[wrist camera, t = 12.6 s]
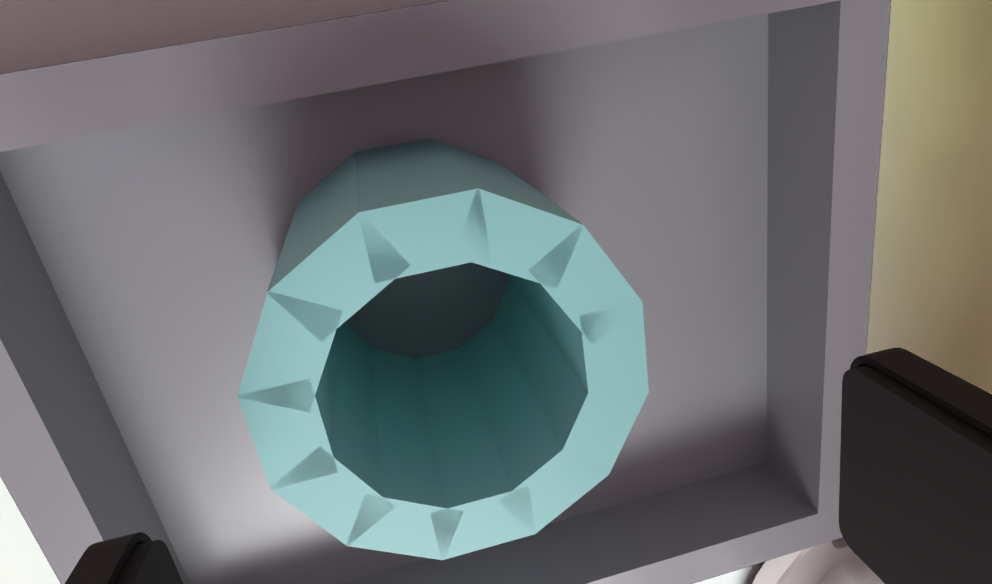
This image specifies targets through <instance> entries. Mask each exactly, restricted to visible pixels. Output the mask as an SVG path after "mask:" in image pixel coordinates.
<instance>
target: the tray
mask: <svg viewBox="0 0 992 584" xmlns="http://www.w3.org/2000/svg"><path fill="white" fill-rule="evenodd" d="M890 11H891V0H448V1H442V2H436V3H430V4H424V5H418V6H412V7H405V8H399V9H393V10H387V11H381V12H375V13H369V14H363V15H357V16H351V17H345V18H339V19H333V20H327V21H321V22H314V23H308V24H302V25H296V26H290V27H284V28H278V29H272V30H266V31H260V32H254V33H248V34H242V35H236V36H230V37H223V38H217V39H211V40H205V41H199V42H193V43H187V44H181V45H175V46H169V47H163V48H157V49H151V50H145V51H139V52H133V53H126V54H120V55H114V56H108V57H102V58H96V59H90V60H84V61H78V62H72V63H66V64H60V65H54V66H48V67H42V68H35V69H29V70H23V71H17V72H11V73H5V74H0V477H1V479H2V480H3V482H4V484H5V486H6V487H7V489H8V491H9V493H10V495H11V496H12V498H13V500H14V502H15V503H16V505H17V507H18V509H19V511H20V512H21V514H22V516H23V518H24V519H25V521H26V523H27V525H28V527H29V528H30V530H31V532H32V534H33V535H34V537H35V539H36V541H37V542H38V544H39V546H40V548H41V550H42V551H43V553H44V555H45V557H46V558H47V560H48V562H49V564H50V566H51V567H52V569H53V571H54V573H55V574H56V576H57V578H58V580H59V582H60V583H61V584H65V582H66V581H67V579H68V577H69V576H70V574H71V573H72V571H73V569H74V568H75V566H76V564H77V563H78V561H79V560H80V558H81V556H82V555H83V553H84V552H85V550H86V549H87V548H88V547H89V546H90V545H92V544H94V543H97V542H101V541H105V540H109V539H113V538H117V537H121V536H125V535H129V534H134V533H138V532H142V533H145V534H147V535H148V536H149V537H150V538H151V540H152V541H154V540H162V541H163V542H164V543H165V544H166V546H167V547H168V549H169V552H170V554H171V556H172V559H173V561H174V563H175V566H176V568H177V570H178V572H179V575H180V577H181V579H182V582H183V584H694V583H697V582H700V581H703V580H706V579H710V578H713V577H716V576H719V575H723V574H726V573H729V572H732V571H736V570H739V569H742V568H745V567H749V566H752V565H755V564H758V563H761V562H765V561H768V560H771V559H774V558H778V557H781V556H784V555H787V554H791V553H794V552H797V551H800V550H803V549H807V548H810V547H813V546H816V545H820V544H823V543H826V542H829V541H833V540H836V539H839V538H842V537H843V536H842V534H841V531H840V528H839V485H840V446H841V407H842V379H843V375H844V373H845V372H846V371H847V370H849V369H850V366H851V363H852V362H853V360H854V359H855V358H857V357H858V356H862V355H866V346H867V332H868V318H869V304H870V290H871V276H872V262H873V248H874V234H875V220H876V206H877V192H878V178H879V164H880V151H881V137H882V123H883V109H884V95H885V81H886V67H887V53H888V39H889V25H890ZM427 138H433V139H436V140H439V141H441V142H444V143H447V144H449V145H452V146H455V147H458V148H460V149H463V150H466V151H469V152H471V153H474V154H477V155H480V156H482V157H485V158H488V159H491V160H493V161H496V162H499V163H501V164H502V165H504V166H505V167H507V168H508V169H509V170H511V171H512V172H513V173H515V174H516V175H517V176H519V177H520V178H521V179H523V180H524V181H525V182H527V183H528V184H529V185H531V186H532V187H533V188H535V189H536V190H538V191H539V192H540V193H542V194H543V195H544V196H546V197H547V198H548V199H550V200H551V201H552V202H554V203H555V204H556V205H558V206H559V207H560V208H562V209H563V210H564V211H566V212H567V213H568V214H570V215H571V216H573V217H574V218H575V219H577V220H578V221H579V222H581V223H582V224H583V225H584V226H585V228H586V229H587V230H588V232H589V233H590V234H591V236H592V237H593V238H594V239H595V241H596V242H597V243H598V245H599V246H600V247H601V249H602V250H603V251H604V252H605V254H606V255H607V256H608V258H609V259H610V260H611V261H612V263H613V264H614V265H615V267H616V268H617V269H618V271H619V272H620V273H621V274H622V276H623V277H624V278H625V280H626V281H627V282H628V284H629V285H630V286H631V287H632V289H633V290H634V291H635V293H636V294H637V295H638V297H639V298H640V299H641V300H642V302H643V317H644V331H645V345H646V360H647V374H648V388H649V393H648V395H647V397H646V399H645V401H644V403H643V405H642V407H641V409H640V412H639V414H638V416H637V418H636V420H635V422H634V424H633V426H632V428H631V430H630V432H629V434H628V436H627V438H626V441H625V443H624V445H623V447H622V449H621V451H620V453H619V455H618V457H617V459H616V461H615V463H614V465H613V467H612V469H611V472H610V474H609V475H608V476H607V477H606V478H604V479H603V480H602V481H601V482H599V483H598V484H597V485H596V486H594V487H593V488H592V489H591V490H589V491H588V492H587V493H586V494H584V495H583V496H582V497H581V498H580V499H578V500H577V501H576V502H575V503H573V504H572V505H571V506H570V507H568V508H567V509H566V510H565V511H563V512H562V513H561V514H560V515H558V516H557V517H556V518H555V519H553V520H552V521H551V522H550V523H549V524H547V525H546V526H545V527H544V528H542V529H541V530H540V531H539V532H537V533H536V534H534V535H530V536H527V537H523V538H520V539H516V540H513V541H509V542H505V543H502V544H498V545H495V546H491V547H488V548H484V549H481V550H477V551H473V552H470V553H466V554H463V555H459V556H456V557H452V558H449V559H445V560H437V559H431V558H424V557H417V556H411V555H404V554H397V553H390V552H384V551H377V550H370V549H363V548H357V547H350V546H346V545H345V544H343V543H342V542H341V541H339V540H338V539H337V538H335V537H334V536H333V535H331V534H330V533H329V532H327V531H326V530H325V529H323V528H322V527H321V526H319V525H318V524H317V523H315V522H314V521H313V520H311V519H310V518H309V517H307V516H306V515H304V514H303V513H302V512H300V511H299V510H298V509H296V508H295V507H294V506H292V505H291V504H290V503H288V502H287V501H286V500H284V499H283V498H282V497H280V496H279V495H278V494H276V493H275V492H274V491H272V490H270V487H269V484H268V481H267V479H266V476H265V473H264V470H263V467H262V465H261V462H260V459H259V456H258V453H257V450H256V448H255V445H254V442H253V439H252V436H251V434H250V431H249V428H248V425H247V422H246V420H245V417H244V414H243V411H242V408H241V406H240V403H239V400H238V397H237V394H238V391H239V388H240V385H241V382H242V378H243V375H244V371H245V368H246V364H247V361H248V358H249V354H250V351H251V347H252V344H253V340H254V337H255V333H256V330H257V327H258V323H259V320H260V316H261V313H262V309H263V306H264V302H265V299H266V296H267V290H268V288H269V285H270V282H271V279H272V276H273V273H274V270H275V267H276V264H277V262H278V259H279V256H280V253H281V250H282V247H283V244H284V241H285V238H286V235H287V233H288V230H289V227H290V224H291V221H292V218H293V215H294V212H295V209H296V206H297V204H298V202H299V201H300V200H302V199H303V198H304V197H305V196H306V195H307V194H308V193H309V192H311V191H312V190H313V189H314V188H315V187H316V186H317V185H318V184H320V183H321V182H322V181H323V180H324V179H325V178H326V177H328V176H329V175H330V174H331V173H332V172H333V171H334V170H335V169H337V168H338V167H339V166H340V165H341V164H342V163H343V162H345V161H346V160H347V159H348V158H349V157H350V156H351V155H352V154H354V153H355V152H358V151H363V150H368V149H374V148H379V147H385V146H390V145H395V144H401V143H406V142H411V141H417V140H422V139H427ZM508 281H509V275H508V273H505V272H501V271H498V270H495V269H492V268H488V267H485V266H482V265H479V264H475V263H472V262H470V263H466V264H461V265H457V266H452V267H447V268H443V269H438V270H433V271H429V272H424V273H420V274H415V275H410V276H406V277H401V278H396V279H394V280H393V281H392V282H391V283H390V284H388V285H387V286H386V287H385V288H384V289H383V290H381V291H380V292H379V293H378V294H377V295H376V296H374V297H373V298H372V299H371V300H370V301H369V302H367V303H366V304H365V305H364V306H363V307H362V308H361V309H359V310H358V311H357V312H356V313H355V314H354V315H352V316H351V317H350V318H349V319H348V320H347V321H345V323H346V324H347V325H348V326H349V327H350V328H351V329H352V330H353V331H354V332H355V333H357V334H358V335H359V336H360V337H361V338H362V339H363V340H364V341H365V342H366V343H367V344H368V345H369V346H370V347H371V348H374V349H378V350H382V351H386V352H390V353H394V354H399V355H403V356H407V357H411V358H415V359H417V358H421V357H425V356H429V355H434V354H438V353H442V352H446V351H451V350H455V349H459V348H460V347H462V346H463V345H464V344H465V343H466V342H468V341H469V340H470V339H471V338H472V337H474V336H475V335H476V334H477V333H478V332H479V331H481V330H482V329H483V328H484V327H485V326H487V325H488V324H489V323H490V322H491V321H493V319H494V317H495V314H496V312H497V309H498V307H499V304H500V302H501V299H502V297H503V294H504V292H505V289H506V286H507V284H508Z"/></svg>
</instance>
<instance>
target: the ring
mask: <svg viewBox="0 0 992 584" xmlns="http://www.w3.org/2000/svg"><path fill="white" fill-rule="evenodd" d="M470 262H472V263H475V264H479V265H482V266H485V267H488V268H492V269H495V270H498V271H501V272H505V273H508V275H509V281H508V284H507V286H506V289H505V292H504V294H503V297H502V299H501V302H500V304H499V307H498V309H497V312H496V314H495V317H494V319H493V321H491V322H490V323H489V324H488V325H487V326H485V327H484V328H483V329H482V330H481V331H479V332H478V333H477V334H476V335H475V336H474V337H472V338H471V339H470V340H469V341H468V342H466V343H465V344H464V345H463V346H462V347H460V348H459V349H455V350H451V351H446V352H442V353H438V354H434V355H429V356H425V357H421V358H417V359H415V358H411V357H407V356H403V355H399V354H394V353H390V352H386V351H382V350H378V349H374V348H371V347H370V346H369V345H368V344H367V343H366V342H365V341H364V340H363V339H362V338H361V337H360V336H359V335H358V334H357V333H355V332H354V331H353V330H352V329H351V328H350V327H349V326H348V325H347V324H346V323H345V321H347V320H348V319H349V318H350V317H351V316H352V315H354V314H355V313H356V312H357V311H358V310H359V309H361V308H362V307H363V306H364V305H365V304H366V303H367V302H369V301H370V300H371V299H372V298H373V297H374V296H376V295H377V294H378V293H379V292H380V291H381V290H383V289H384V288H385V287H386V286H387V285H388V284H390V283H391V282H392V281H393V280H394V279H396V278H401V277H406V276H410V275H415V274H420V273H424V272H429V271H433V270H438V269H443V268H447V267H452V266H457V265H461V264H466V263H470ZM648 393H649V388H648V374H647V360H646V345H645V331H644V317H643V302H642V300H641V299H640V298H639V297H638V295H637V294H636V293H635V291H634V290H633V289H632V287H631V286H630V285H629V284H628V282H627V281H626V280H625V278H624V277H623V276H622V274H621V273H620V272H619V271H618V269H617V268H616V267H615V265H614V264H613V263H612V261H611V260H610V259H609V258H608V256H607V255H606V254H605V252H604V251H603V250H602V249H601V247H600V246H599V245H598V243H597V242H596V241H595V239H594V238H593V237H592V236H591V234H590V233H589V232H588V230H587V229H586V228H585V226H584V225H583V224H582V223H581V222H579V221H578V220H577V219H575V218H574V217H573V216H571V215H570V214H568V213H567V212H566V211H564V210H563V209H562V208H560V207H559V206H558V205H556V204H555V203H554V202H552V201H551V200H550V199H548V198H547V197H546V196H544V195H543V194H542V193H540V192H539V191H538V190H536V189H535V188H533V187H532V186H531V185H529V184H528V183H527V182H525V181H524V180H523V179H521V178H520V177H519V176H517V175H516V174H515V173H513V172H512V171H511V170H509V169H508V168H507V167H505V166H504V165H502V164H501V163H499V162H496V161H493V160H491V159H488V158H485V157H482V156H480V155H477V154H474V153H471V152H469V151H466V150H463V149H460V148H458V147H455V146H452V145H449V144H447V143H444V142H441V141H439V140H436V139H433V138H427V139H422V140H417V141H411V142H406V143H401V144H395V145H390V146H385V147H379V148H374V149H368V150H363V151H358V152H355V153H354V154H352V155H351V156H350V157H349V158H348V159H347V160H346V161H345V162H343V163H342V164H341V165H340V166H339V167H338V168H337V169H335V170H334V171H333V172H332V173H331V174H330V175H329V176H328V177H326V178H325V179H324V180H323V181H322V182H321V183H320V184H318V185H317V186H316V187H315V188H314V189H313V190H312V191H311V192H309V193H308V194H307V195H306V196H305V197H304V198H303V199H302V200H300V201H299V202H298V204H297V206H296V209H295V212H294V215H293V218H292V221H291V224H290V227H289V230H288V233H287V235H286V238H285V241H284V244H283V247H282V250H281V253H280V256H279V259H278V262H277V264H276V267H275V270H274V273H273V276H272V279H271V282H270V285H269V288H268V290H267V296H266V299H265V302H264V306H263V309H262V313H261V316H260V320H259V323H258V327H257V330H256V333H255V337H254V340H253V344H252V347H251V351H250V354H249V358H248V361H247V364H246V368H245V371H244V375H243V378H242V382H241V385H240V388H239V391H238V394H237V397H238V400H239V403H240V406H241V408H242V411H243V414H244V417H245V420H246V422H247V425H248V428H249V431H250V434H251V436H252V439H253V442H254V445H255V448H256V450H257V453H258V456H259V459H260V462H261V465H262V467H263V470H264V473H265V476H266V479H267V481H268V484H269V487H270V490H272V491H274V492H275V493H276V494H278V495H279V496H280V497H282V498H283V499H284V500H286V501H287V502H288V503H290V504H291V505H292V506H294V507H295V508H296V509H298V510H299V511H300V512H302V513H303V514H304V515H306V516H307V517H309V518H310V519H311V520H313V521H314V522H315V523H317V524H318V525H319V526H321V527H322V528H323V529H325V530H326V531H327V532H329V533H330V534H331V535H333V536H334V537H335V538H337V539H338V540H339V541H341V542H342V543H343V544H345V545H346V546H350V547H357V548H363V549H370V550H377V551H384V552H390V553H397V554H404V555H411V556H417V557H424V558H431V559H437V560H445V559H449V558H452V557H456V556H459V555H463V554H466V553H470V552H473V551H477V550H481V549H484V548H488V547H491V546H495V545H498V544H502V543H505V542H509V541H513V540H516V539H520V538H523V537H527V536H530V535H534V534H536V533H537V532H539V531H540V530H541V529H542V528H544V527H545V526H546V525H547V524H549V523H550V522H551V521H552V520H553V519H555V518H556V517H557V516H558V515H560V514H561V513H562V512H563V511H565V510H566V509H567V508H568V507H570V506H571V505H572V504H573V503H575V502H576V501H577V500H578V499H580V498H581V497H582V496H583V495H584V494H586V493H587V492H588V491H589V490H591V489H592V488H593V487H594V486H596V485H597V484H598V483H599V482H601V481H602V480H603V479H604V478H606V477H607V476H608V475H609V474H610V472H611V469H612V467H613V465H614V463H615V461H616V459H617V457H618V455H619V453H620V451H621V449H622V447H623V445H624V443H625V441H626V438H627V436H628V434H629V432H630V430H631V428H632V426H633V424H634V422H635V420H636V418H637V416H638V414H639V412H640V409H641V407H642V405H643V403H644V401H645V399H646V397H647V395H648Z"/></svg>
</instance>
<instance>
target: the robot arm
mask: <svg viewBox="0 0 992 584" xmlns="http://www.w3.org/2000/svg"><path fill="white" fill-rule="evenodd" d="M839 528H840V531H841V534H842V536H843V537H842V538H839V539H836V540H833V541H829V542H826V543H823V544H820V545H816V546H813V547H810V548H807V549H803V550H800V551H797V552H794V553H791V554H787V555H784V556H781V557H778V558H774V559H771V560H768V561H765V563H764V564H763V566H762V567H761V568H760V570H759V571H758V573H757V574H756V576H755V579H754V581H753V583H752V584H992V395H991V394H989V393H987V392H986V391H984V390H982V389H980V388H978V387H976V386H974V385H972V384H970V383H968V382H966V381H965V380H963V379H961V378H959V377H957V376H955V375H953V374H951V373H949V372H947V371H945V370H943V369H942V368H940V367H938V366H936V365H934V364H932V363H930V362H928V361H926V360H924V359H922V358H920V357H919V356H917V355H915V354H913V353H911V352H909V351H907V350H905V349H902V348H891V349H887V350H883V351H879V352H875V353H871V354H866V355H862V356H858V357H857V358H855V359H854V360H853V362H852V363H851V366H850V369H849V370H847V371H846V372H845V373H844V375H843V379H842V407H841V446H840V485H839ZM65 584H183V582H182V579H181V577H180V575H179V572H178V570H177V568H176V566H175V563H174V561H173V559H172V556H171V554H170V552H169V549H168V547H167V546H166V544H165V543H164V542H163V541H162V540H154V541H152V540H151V538H150V537H149V536H148V535H147V534H145V533H142V532H138V533H134V534H129V535H125V536H121V537H117V538H113V539H109V540H105V541H101V542H97V543H94V544H92V545H90V546H89V547H88V548H87V549H86V550H85V552H84V553H83V555H82V556H81V558H80V560H79V561H78V563H77V564H76V566H75V568H74V569H73V571H72V573H71V574H70V576H69V577H68V579H67V581H66V582H65Z"/></svg>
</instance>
